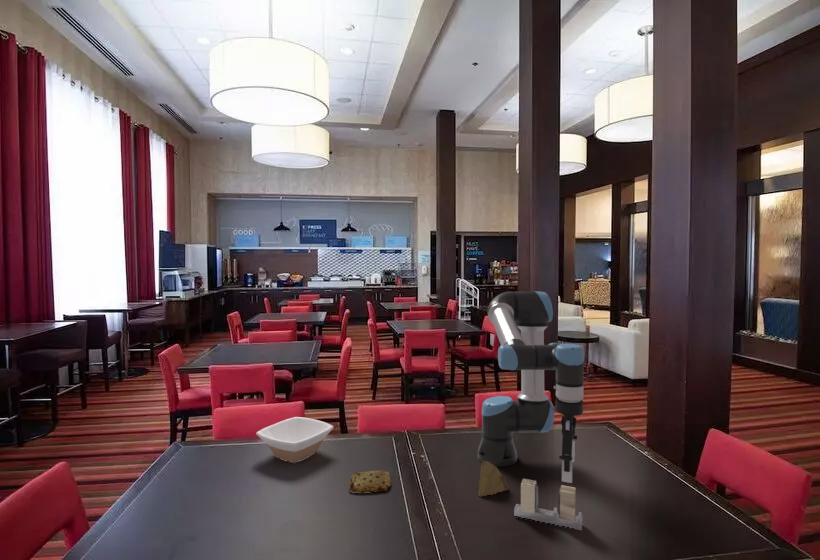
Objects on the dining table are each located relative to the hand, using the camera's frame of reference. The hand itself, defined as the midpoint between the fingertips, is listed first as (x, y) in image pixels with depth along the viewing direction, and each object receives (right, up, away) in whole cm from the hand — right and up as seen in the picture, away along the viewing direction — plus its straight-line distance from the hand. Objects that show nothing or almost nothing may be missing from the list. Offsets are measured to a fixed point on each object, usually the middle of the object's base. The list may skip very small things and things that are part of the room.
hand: (568, 470), depth 133 cm
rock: (-18, -16, +20) cm, 31 cm away
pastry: (-60, -16, +26) cm, 67 cm away
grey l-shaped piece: (-5, -16, +3) cm, 17 cm away
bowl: (-91, -15, +50) cm, 105 cm away
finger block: (0, -13, 0) cm, 13 cm away
